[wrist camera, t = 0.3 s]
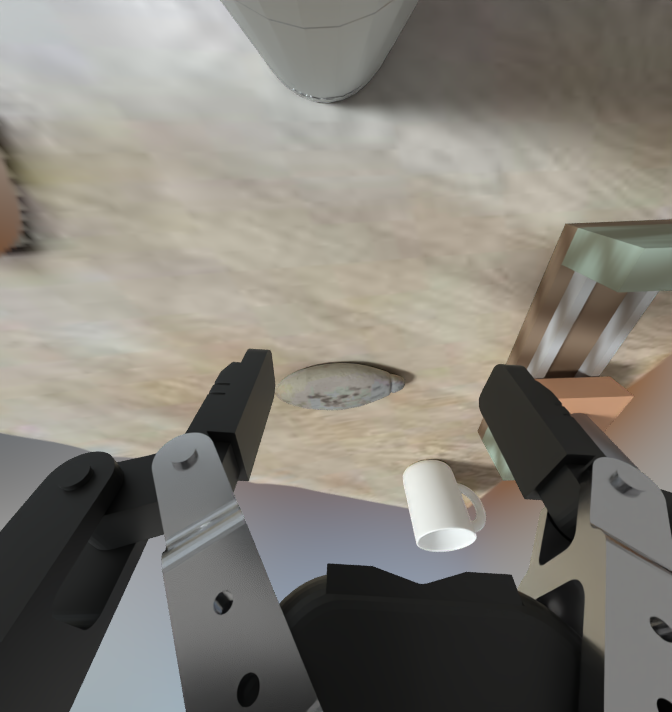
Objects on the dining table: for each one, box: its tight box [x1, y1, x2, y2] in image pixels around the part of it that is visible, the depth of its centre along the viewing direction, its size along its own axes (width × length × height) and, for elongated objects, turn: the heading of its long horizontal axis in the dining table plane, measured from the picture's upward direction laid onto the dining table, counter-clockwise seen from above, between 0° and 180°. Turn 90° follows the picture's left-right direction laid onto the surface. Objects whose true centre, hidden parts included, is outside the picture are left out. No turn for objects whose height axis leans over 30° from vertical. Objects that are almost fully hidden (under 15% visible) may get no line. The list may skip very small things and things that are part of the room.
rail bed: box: [478, 219, 672, 480], centre depth 29 cm, size 28×10×8 cm, turn 2°
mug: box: [403, 460, 486, 552], centre depth 43 cm, size 12×8×10 cm
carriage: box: [535, 377, 639, 470], centre depth 27 cm, size 8×9×14 cm
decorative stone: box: [275, 363, 405, 410], centre depth 33 cm, size 6×16×3 cm, turn 95°
